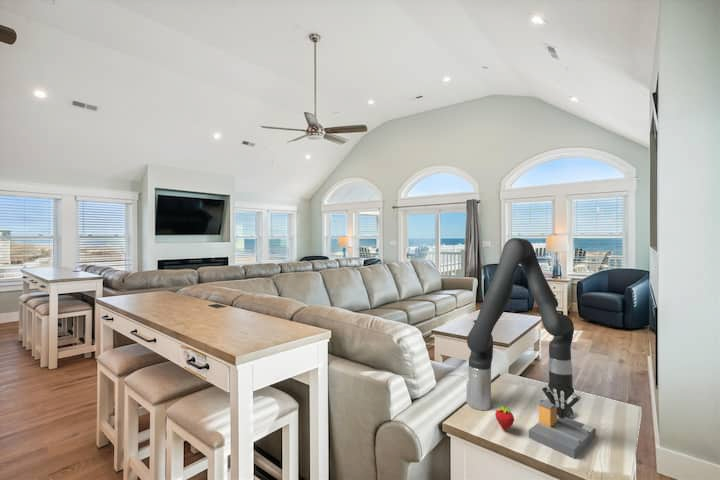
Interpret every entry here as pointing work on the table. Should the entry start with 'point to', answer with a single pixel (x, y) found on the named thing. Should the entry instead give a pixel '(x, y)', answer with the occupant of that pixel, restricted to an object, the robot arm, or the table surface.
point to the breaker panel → (564, 436)
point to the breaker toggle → (547, 413)
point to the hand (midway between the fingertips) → (561, 417)
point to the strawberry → (504, 418)
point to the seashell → (568, 411)
